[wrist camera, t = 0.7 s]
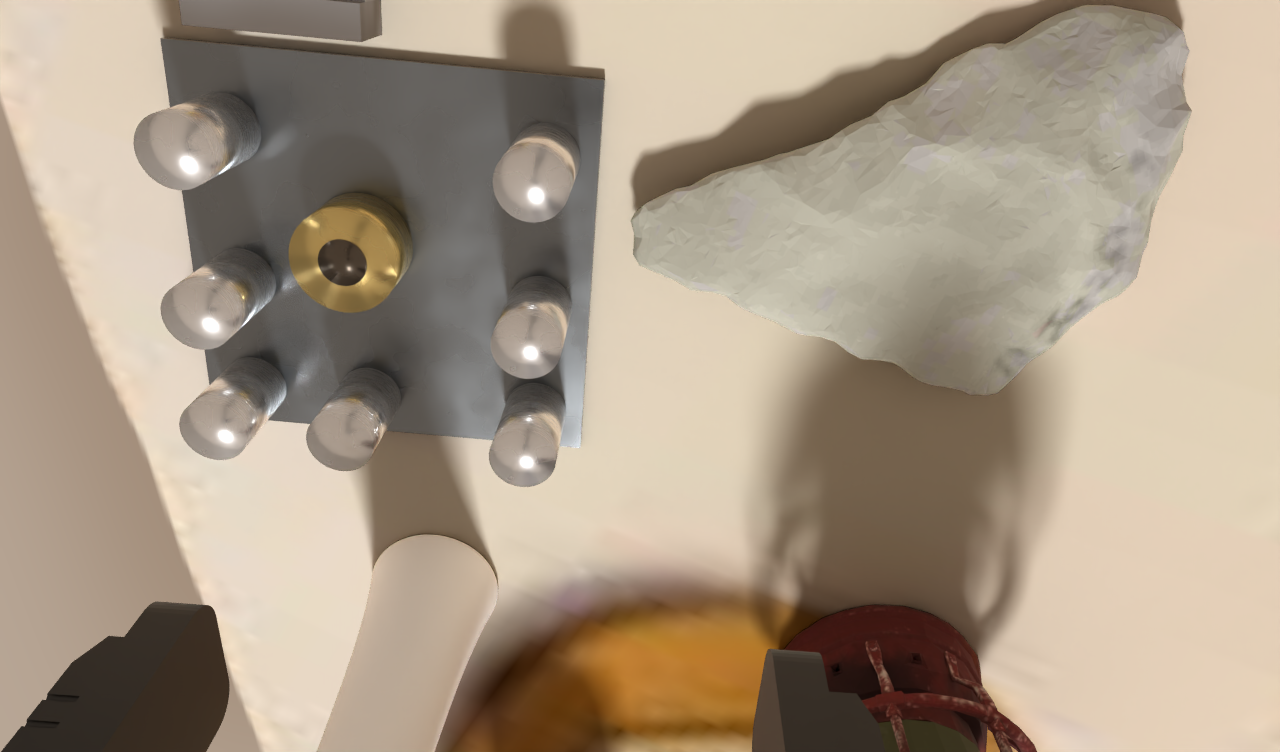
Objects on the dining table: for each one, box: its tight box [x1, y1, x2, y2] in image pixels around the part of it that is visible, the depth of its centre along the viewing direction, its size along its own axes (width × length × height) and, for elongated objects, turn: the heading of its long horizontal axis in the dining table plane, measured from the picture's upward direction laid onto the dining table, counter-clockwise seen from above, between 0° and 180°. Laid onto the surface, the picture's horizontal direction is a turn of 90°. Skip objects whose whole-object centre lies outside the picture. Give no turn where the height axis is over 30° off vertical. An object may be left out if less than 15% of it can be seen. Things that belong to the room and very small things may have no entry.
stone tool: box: [631, 5, 1192, 395], centre depth 34 cm, size 15×4×20 cm
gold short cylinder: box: [289, 193, 413, 313], centre depth 34 cm, size 4×4×2 cm
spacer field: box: [134, 38, 605, 487], centre depth 34 cm, size 16×16×4 cm
